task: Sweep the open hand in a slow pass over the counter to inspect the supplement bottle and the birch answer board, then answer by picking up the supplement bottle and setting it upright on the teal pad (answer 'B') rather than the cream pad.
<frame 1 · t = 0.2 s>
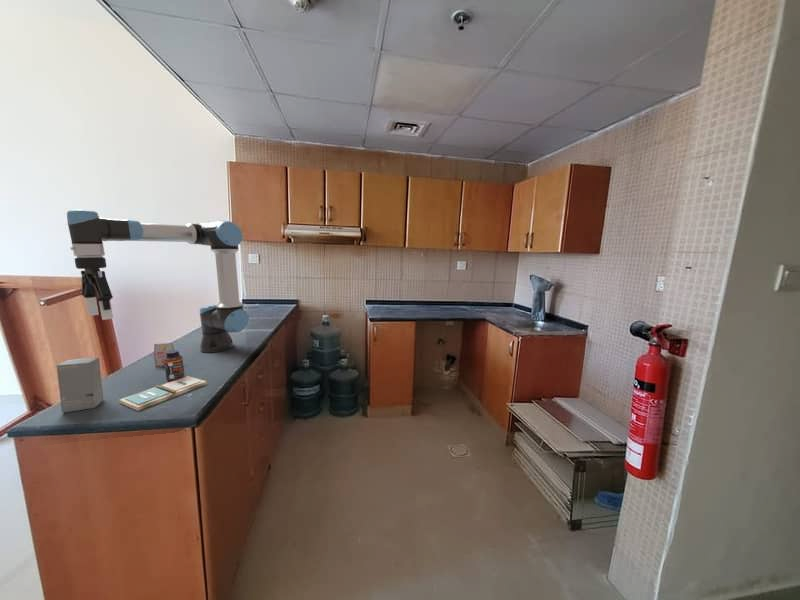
hand: (100, 317, 109), 28 cm above the countertop, fingers open, 13 cm apart
white product box: (166, 364, 139), on the countertop
supplement bottle: (175, 378, 123), on the countertop
teal pad: (148, 399, 106), resting on answer board
skincare box: (85, 406, 102), on the countertop
cream pad: (182, 386, 115), resting on answer board
answer board: (165, 393, 111), on the countertop
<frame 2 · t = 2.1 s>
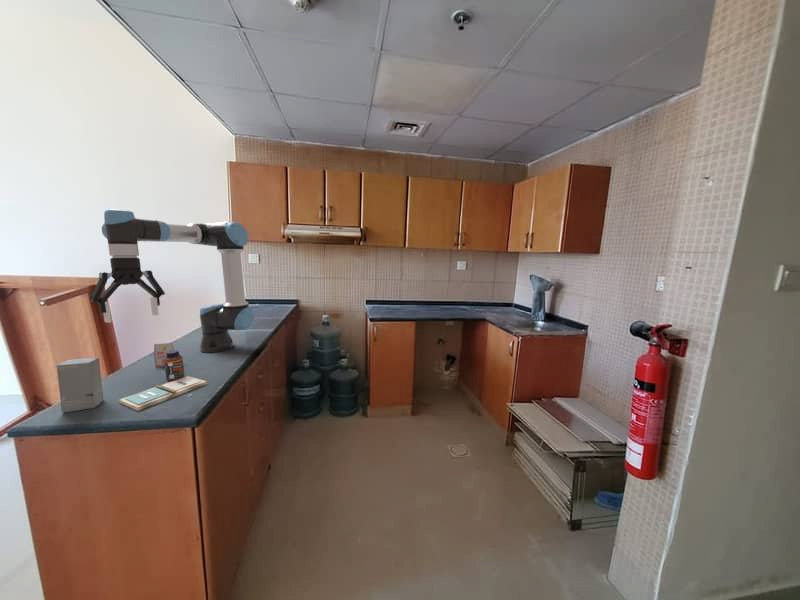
hand: (133, 318, 107), 28 cm above the countertop, fingers open, 13 cm apart
nothing on the countertop moved.
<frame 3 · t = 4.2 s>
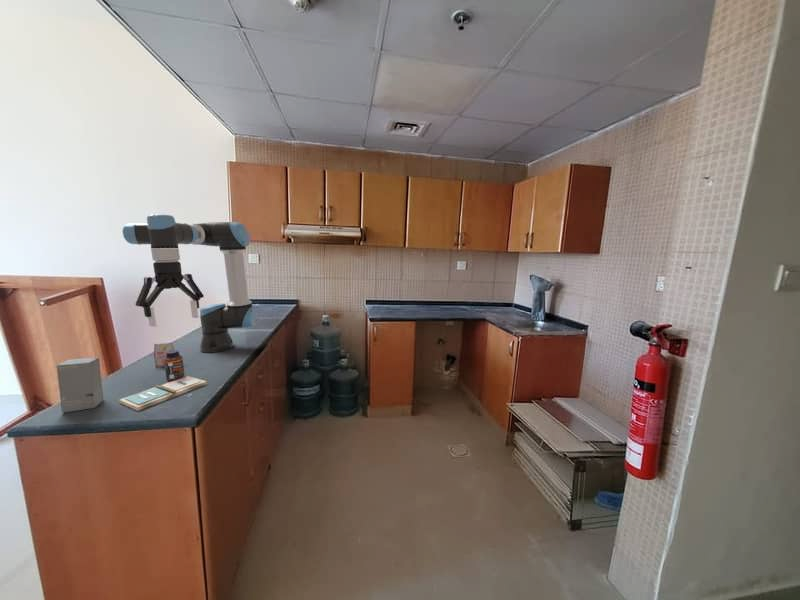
hand: (175, 321, 108), 26 cm above the countertop, fingers open, 13 cm apart
nothing on the countertop moved.
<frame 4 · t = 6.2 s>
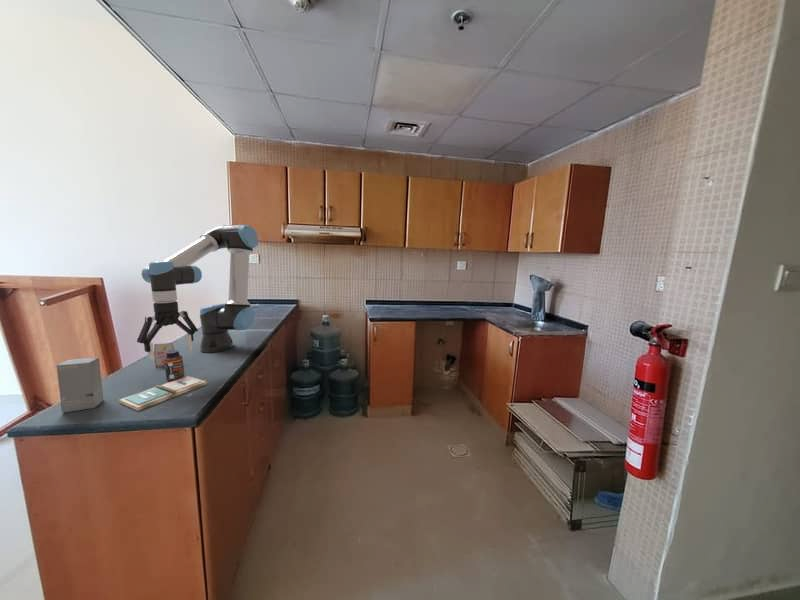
hand: (171, 354, 121), 10 cm above the countertop, fingers open, 13 cm apart
nothing on the countertop moved.
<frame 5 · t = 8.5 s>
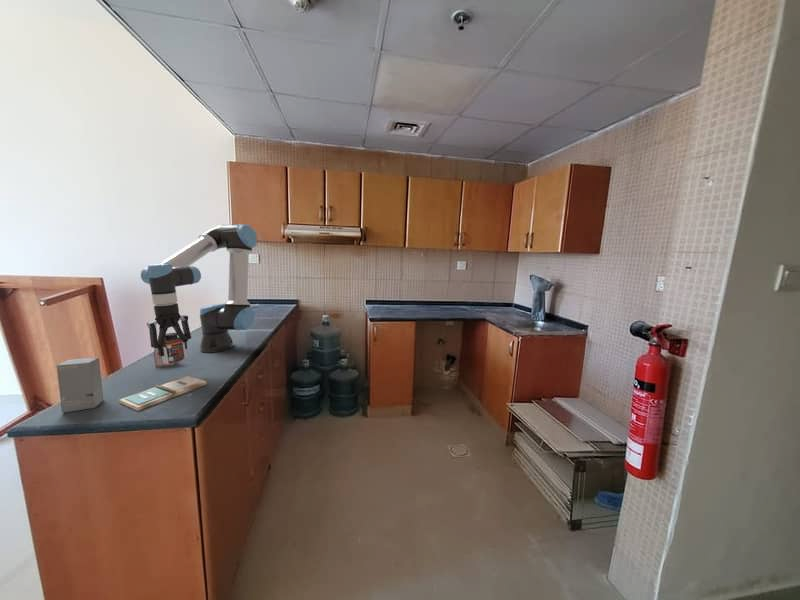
hand: (175, 360, 123), 7 cm above the countertop, fingers closed on supplement bottle, 6 cm apart
supplement bottle: (175, 361, 123), point 7 cm above the countertop, touching gripper
everything else where it was.
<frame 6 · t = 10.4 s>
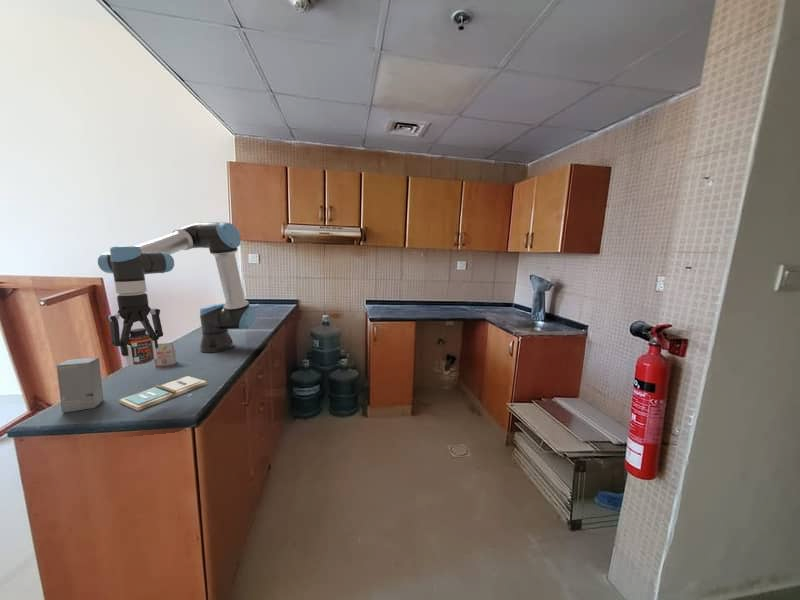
hand: (142, 361, 104), 14 cm above the countertop, fingers closed on supplement bottle, 6 cm apart
supplement bottle: (142, 362, 104), point 13 cm above the countertop, touching gripper
everything else where it was.
when the fingers open (2 cm above the countertop, at t = 12.7 s): supplement bottle stays where it is, resting on teal pad.
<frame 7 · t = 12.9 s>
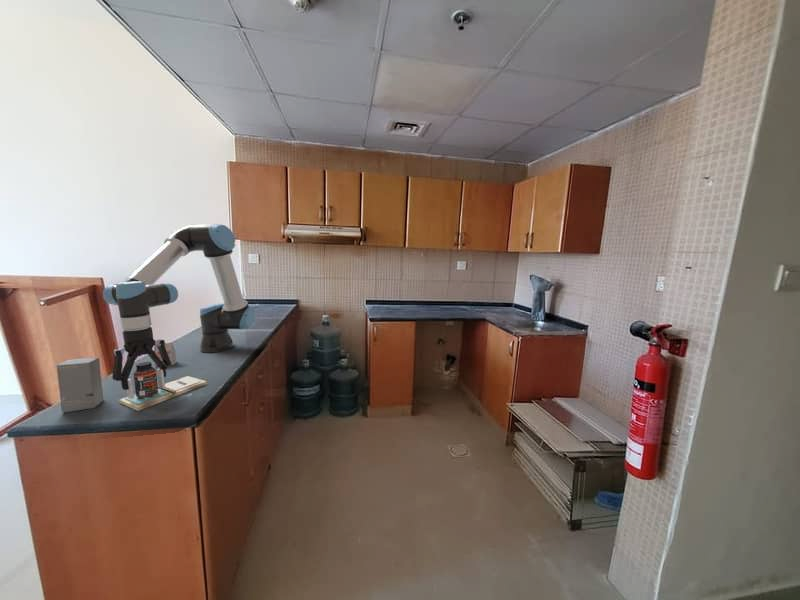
hand: (146, 391, 105), 3 cm above the countertop, fingers open, 8 cm apart
supplement bottle: (147, 395, 106), point 2 cm above the countertop, touching teal pad
everything else where it was.
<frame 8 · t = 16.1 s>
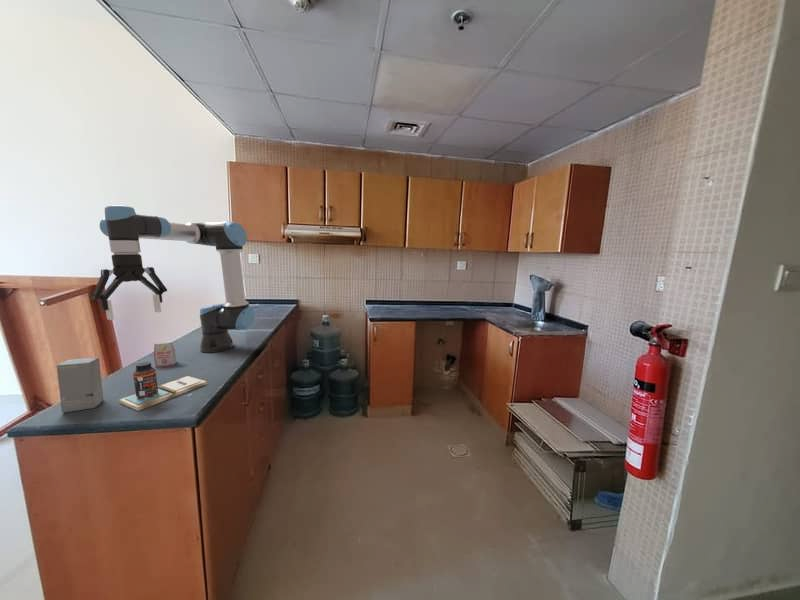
hand: (135, 315, 106), 29 cm above the countertop, fingers open, 13 cm apart
nothing on the countertop moved.
at the end: supplement bottle 0.1 cm from the teal pad (horizontally); supplement bottle tilted 0°; the gripper is holding nothing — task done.
